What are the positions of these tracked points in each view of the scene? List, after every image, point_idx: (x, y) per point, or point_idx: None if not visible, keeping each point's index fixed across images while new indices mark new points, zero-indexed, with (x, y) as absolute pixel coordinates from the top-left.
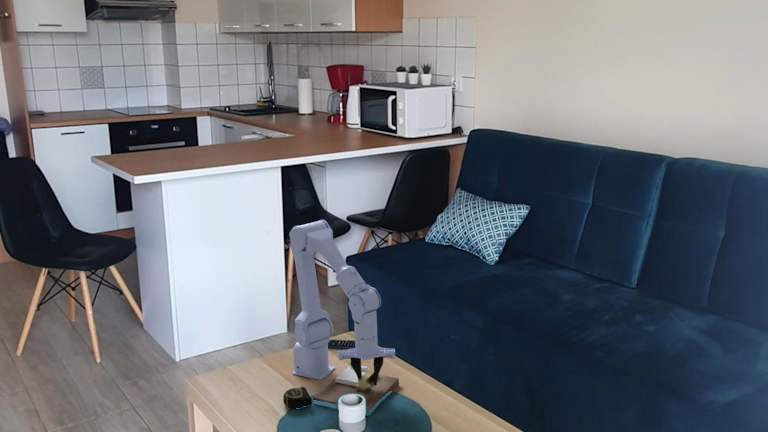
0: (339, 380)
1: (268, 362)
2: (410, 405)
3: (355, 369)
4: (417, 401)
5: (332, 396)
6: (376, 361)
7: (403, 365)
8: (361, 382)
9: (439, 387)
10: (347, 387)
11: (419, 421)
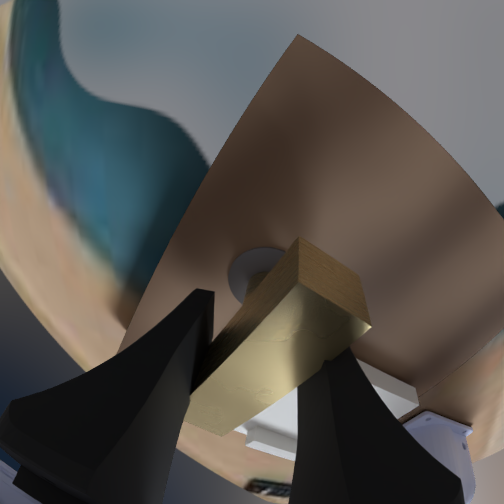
0: (404, 392)
1: (479, 453)
2: (62, 154)
3: (401, 444)
4: (42, 189)
5: (483, 274)
6: (65, 489)
7: None
8: (336, 288)
9: (9, 276)
10: (378, 348)
11: (41, 14)
